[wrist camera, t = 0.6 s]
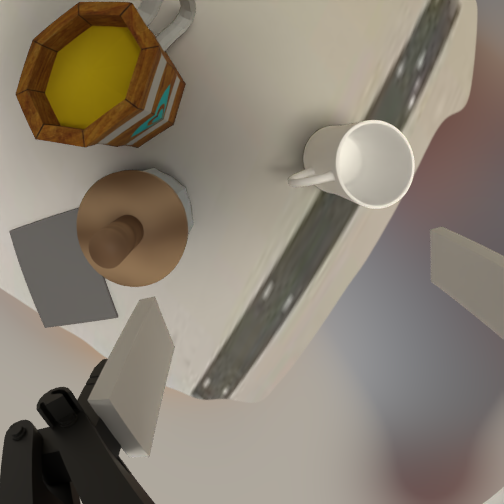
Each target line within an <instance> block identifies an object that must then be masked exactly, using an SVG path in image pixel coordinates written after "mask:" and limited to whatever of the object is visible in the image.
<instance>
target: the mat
mask: <svg viewBox="0 0 504 504" xmlns="http://www.w3.org/2000/svg"><path fill="white" fill-rule="evenodd" d="M78 210H79V208H77V209H74V210H71V211H68V212H64V213H61V214H58V215H55V216H52V217H49V218H46V219H43V220H40V221H37V222H34V223H31V224H28V225H26V226H23V227H20V228H17V229H14V230H12V231H9V232H10V235H11V239H12V242H13V245H14V248H15V252H16V255H17V258H18V261H19V264H20V267H21V270H22V272H23V275H24V278H25V281H26V283H27V286H28V289H29V291H30V294H31V296H32V299H33V301H34V304H35V306H36V308H37V311H38V313H39V315H40V318H41V320H42V322H43V324H44V327H45V328H47V327H54V326H62V325H70V324H77V323H84V322H91V321H98V320H105V319H112V318H118V314H117V312H116V309H115V306H114V304H113V301H112V298H111V295H110V293H109V290H108V287H107V284H106V281H105V278H104V277H103V276H102V275H100V274H99V273H98V272H97V271H96V270H95V269H94V268H93V267H92V266H91V265H90V263H89V262H88V261H87V259H86V258H85V256H84V254H83V252H82V250H81V247H80V244H79V241H78V237H77V214H78Z"/></svg>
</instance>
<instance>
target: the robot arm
mask: <svg viewBox="0 0 504 504" xmlns="http://www.w3.org/2000/svg"><path fill="white" fill-rule="evenodd" d="M430 241H431V242H430V243H431V282H432V283H434V284H435V285H436V286H438V287H439V288H440V289H441V290H443V291H444V292H445V293H447V294H448V295H449V296H451V297H452V298H453V299H454V300H456V301H457V302H458V303H459V304H461V305H462V306H463V307H465V308H466V309H467V310H468V311H470V312H471V313H472V314H473V315H474V316H476V317H477V318H478V319H479V320H481V321H482V322H483V323H484V324H485V325H487V326H488V327H489V328H490V329H492V330H493V331H494V332H495V333H496V334H497V335H498V336H500V337H501V338H502V339H503V340H504V256H502V255H500V254H498V253H496V252H494V251H492V250H490V249H488V248H486V247H484V246H482V245H480V244H478V243H476V242H474V241H472V240H470V239H468V238H465V237H463V236H461V235H459V234H457V233H455V232H452V231H450V230H448V229H446V228H443V227H439V228H435V229H432V230H430ZM174 348H175V346H174V344H173V341H172V339H171V337H170V334H169V332H168V329H167V327H166V324H165V322H164V319H163V316H162V314H161V311H160V309H159V306H158V303H157V301H156V298H155V297H151V298H146V299H142V300H139V302H138V304H137V306H136V307H135V309H134V311H133V313H132V315H131V316H130V318H129V320H128V322H127V324H126V326H125V327H124V329H123V331H122V333H121V335H120V337H119V339H118V341H117V342H116V344H115V346H114V348H113V350H112V352H111V354H110V356H109V358H108V359H104V360H102V361H101V362H100V363H99V364H98V365H97V366H96V367H95V368H94V370H93V371H92V373H91V375H90V378H89V379H88V381H87V383H86V386H85V387H84V388H83V390H82V392H81V394H80V396H79V398H78V400H77V399H76V398H75V396H74V395H73V393H72V392H71V391H70V390H69V389H68V388H66V387H59V388H55V389H53V390H50V391H49V392H47V393H46V394H44V395H43V396H42V397H41V398H40V400H39V402H38V404H37V411H38V412H39V413H40V415H41V416H42V417H43V419H44V420H45V421H46V423H47V424H48V425H49V427H47V428H43V429H39V430H37V429H36V428H35V426H34V425H33V424H32V423H31V422H30V421H28V420H21V421H18V422H16V423H14V424H13V425H11V426H10V428H9V429H8V431H7V432H6V435H5V439H4V447H3V454H2V463H1V475H0V504H80V499H81V501H82V503H83V504H155V503H154V502H153V501H152V499H151V498H150V497H149V496H148V494H147V493H146V492H145V491H144V489H143V488H142V487H141V485H140V484H139V483H138V482H137V480H136V479H135V478H134V476H133V475H132V474H131V472H130V471H129V469H128V468H127V467H126V465H125V464H124V462H123V461H122V460H121V459H120V457H119V452H120V449H121V448H122V449H123V450H124V451H125V453H126V454H127V455H128V456H129V457H149V456H150V451H151V447H152V442H153V437H154V433H155V428H156V424H157V419H158V414H159V410H160V405H161V401H162V397H163V392H164V389H165V384H166V380H167V376H168V372H169V368H170V364H171V360H172V356H173V352H174ZM79 497H80V498H79Z"/></svg>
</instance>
